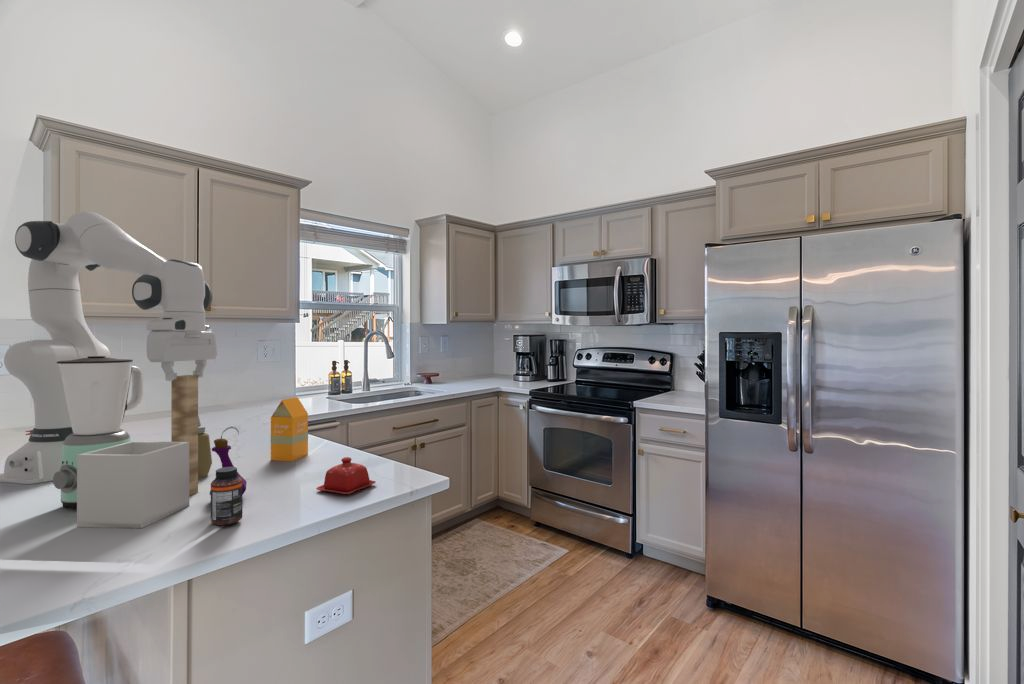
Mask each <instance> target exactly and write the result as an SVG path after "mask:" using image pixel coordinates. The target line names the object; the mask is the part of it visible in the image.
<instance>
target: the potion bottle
mask: <svg viewBox="0 0 1024 684" xmlns="http://www.w3.org/2000/svg"><path fill="white" fill-rule="evenodd" d="M230 429H235V431H236V432H237V435H240V431H239V429H238V428H237V427H235V426H233V425H232V426H228V427H226V428H225V429H224V430H223V431H222V433H221V436H220V438H215V440H213V443H214V444H213V445H214V447H212V448H211V452H215V454H216V455H217V456H218V457H219V459H220V463H221V468H223V467H235V466H234V464H233V462H232V460H231V458H230V456H229V451H230V450H231V449H232V446H231V445H228V444H229V442H228V439H226V438H223V435H224V433H225V432H226V431H228V430H230ZM237 475H238V477H240V478H241V479H242V496H244V494H245V493H246V491H247V480H246V479H245V478H243V476H242V475H241V474H240V473H239V472H238V471H237ZM209 495H210V496H211V489H210V491H209Z"/></svg>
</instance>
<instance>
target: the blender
mask: <svg viewBox="0 0 1024 684" xmlns="http://www.w3.org/2000/svg"><path fill="white" fill-rule="evenodd" d="M105 357H106V356H88V358H81V359H75V360H66V361H58V362H57V364H58V365H59V368H60V371H61V376H62V382H63V387H64V392H65V397H66V402H67V407H68V412H69V417H70V421H71V426H72V430H73V434H70V435H69V436H68V437H66V439H65V440H64V442H63V444H62V449H61V468H60V471H58V472H56V473H55V474H54V476H53V481H52V483H53V485H54V488H56V489H57V490H60V502H61V504H62V508H77V455H79V454H83V453H87V452H91V451H95V450H99V449H103V448H107V447H111V446H115V445H119V444H123V443H127V442H131V441H132V438H131V435H130V434H129V432H128V431H126V430H125V429H122V425H123V422H124V418H125V414H126V411H132V410H133V409H136V408H137V407H138V406H139V405H140V404H141V402H142V401H143V395H144V375H143V374H144V373H143V370H142V368H140V367H138V366H135V365H133V362H134V360H133V359H126V358H113V357H111V358H105ZM130 383H132V384H130ZM130 385H132V386H131V397H130V400H129V402H128V399H129V398H128V396H129V391H130Z"/></svg>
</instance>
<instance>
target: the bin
mask: <svg viewBox="0 0 1024 684" xmlns="http://www.w3.org/2000/svg"><path fill="white" fill-rule="evenodd" d="M189 506H190V496H189V442H171V441H154V440H153V441H150V440H148V441H143V440H140V441H139V440H137V441H136V440H131V442H127V443H123V444H119V445H115V446H111V447H107V448H103V449H99V450H95V451H91V452H87V453H83V454H79V455H77V507H76V527H78V528H103V529H104V528H105V529H106V528H109V529H110V528H111V529H113V528H114V529H143V528H145V527H147V526H149V525H152V524H153V523H156V522H158V521H160V520H162V519H164V518H166V517H168V516H171V515H172V514H173V515H174V513H177V512H179V511H181V510H183V509H186V508H188V507H189Z"/></svg>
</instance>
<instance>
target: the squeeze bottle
mask: <svg viewBox="0 0 1024 684" xmlns="http://www.w3.org/2000/svg"><path fill="white" fill-rule="evenodd" d="M212 465H213V459H212V448H211V441H210V434H208V433H207V432H206V425H202V424H201V421H200V416H199V415H198V480H199V479H203V478H207V477H208V476H209V473H210V470H211V467H212Z"/></svg>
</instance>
